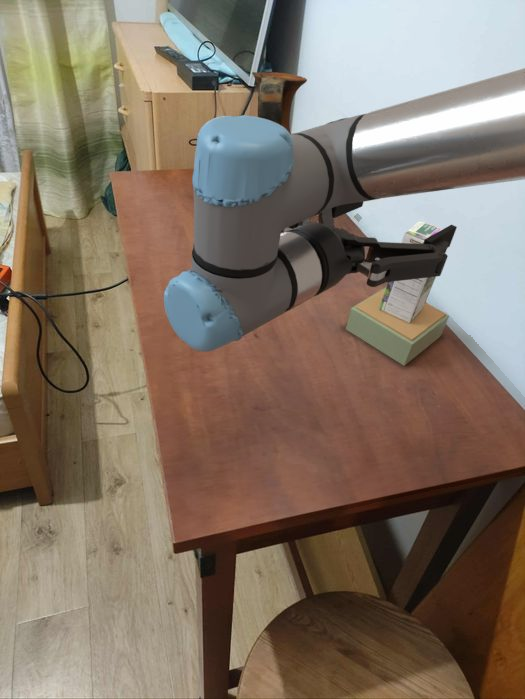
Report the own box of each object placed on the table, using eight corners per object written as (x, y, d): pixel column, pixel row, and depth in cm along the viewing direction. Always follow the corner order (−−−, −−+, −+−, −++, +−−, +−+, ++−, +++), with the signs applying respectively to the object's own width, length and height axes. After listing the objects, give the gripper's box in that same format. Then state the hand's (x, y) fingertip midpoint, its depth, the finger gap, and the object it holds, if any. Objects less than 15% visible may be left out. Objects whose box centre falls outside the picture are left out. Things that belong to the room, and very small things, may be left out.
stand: (440, 336, 89) (450, 313, 86) (404, 366, 82) (413, 342, 79) (384, 304, 95) (391, 282, 92) (345, 329, 88) (351, 305, 85)
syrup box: (392, 295, 88) (417, 218, 79) (424, 309, 86) (454, 232, 77) (378, 310, 85) (403, 230, 75) (410, 325, 82) (440, 245, 73)
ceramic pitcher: (308, 205, 124) (332, 69, 105) (306, 246, 109) (334, 95, 89) (228, 194, 124) (237, 56, 105) (215, 233, 109) (223, 80, 89)
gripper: (218, 248, 63) (325, 206, 75) (386, 352, 50) (481, 281, 63) (220, 190, 58) (335, 155, 70) (407, 288, 46) (505, 225, 58)
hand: (404, 214), depth 67 cm, fingers open, 13 cm apart
